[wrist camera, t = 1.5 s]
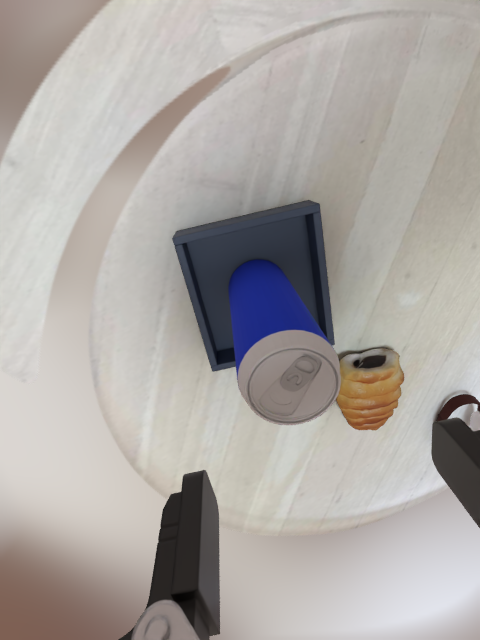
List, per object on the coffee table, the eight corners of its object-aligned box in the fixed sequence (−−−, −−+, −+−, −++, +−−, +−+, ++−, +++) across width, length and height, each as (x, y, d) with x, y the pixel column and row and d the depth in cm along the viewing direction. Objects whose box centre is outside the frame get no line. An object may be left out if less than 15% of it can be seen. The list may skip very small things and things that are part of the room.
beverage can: (266, 322, 31) (305, 443, 17) (217, 296, 29) (218, 406, 16) (297, 275, 29) (369, 368, 15) (247, 246, 28) (277, 320, 14)
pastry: (392, 414, 37) (410, 439, 34) (332, 424, 37) (344, 451, 34) (393, 341, 33) (414, 361, 30) (327, 354, 33) (339, 375, 30)
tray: (176, 231, 27) (172, 237, 25) (309, 199, 27) (319, 203, 24) (212, 354, 32) (212, 371, 30) (324, 330, 32) (334, 344, 29)
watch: (466, 440, 40) (489, 465, 36) (428, 445, 39) (447, 470, 36) (480, 387, 36) (506, 409, 33) (438, 392, 36) (460, 414, 33)
